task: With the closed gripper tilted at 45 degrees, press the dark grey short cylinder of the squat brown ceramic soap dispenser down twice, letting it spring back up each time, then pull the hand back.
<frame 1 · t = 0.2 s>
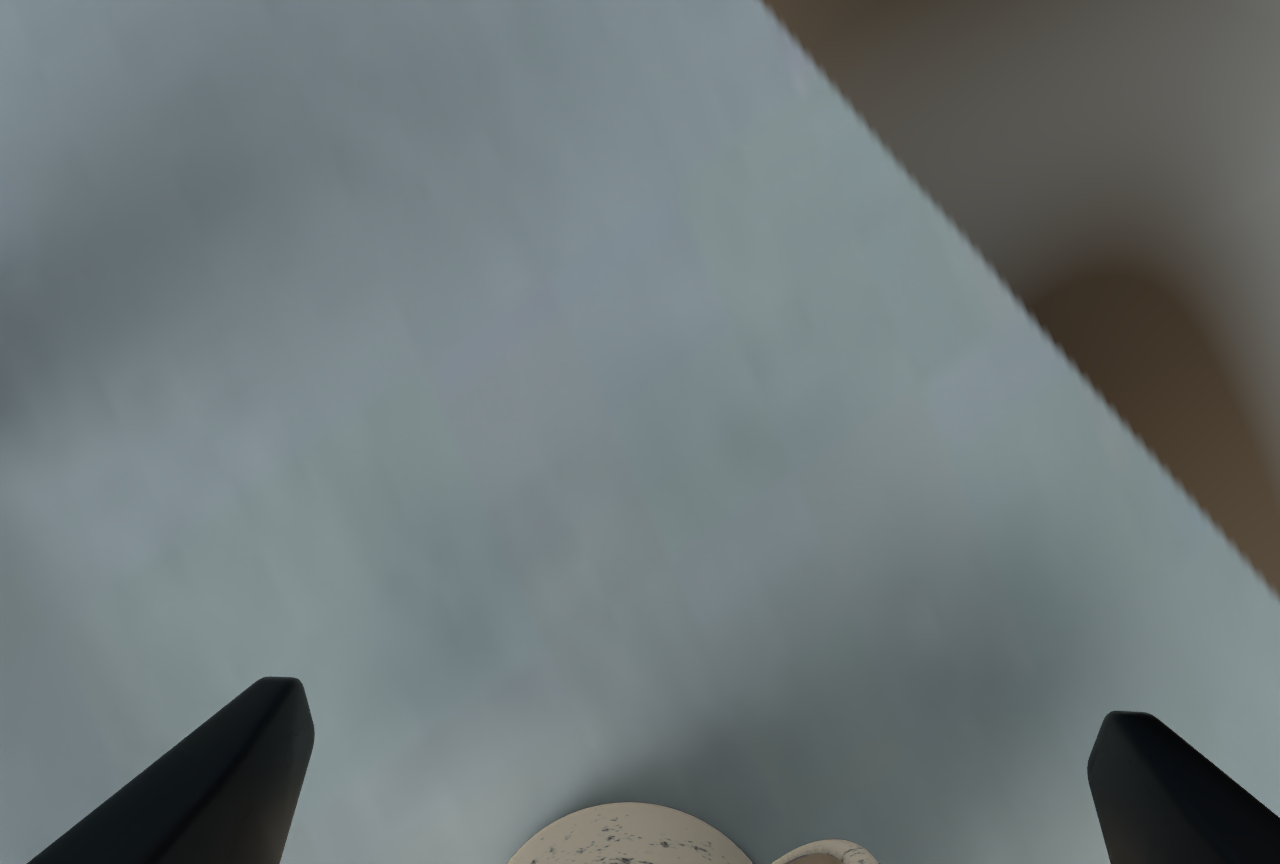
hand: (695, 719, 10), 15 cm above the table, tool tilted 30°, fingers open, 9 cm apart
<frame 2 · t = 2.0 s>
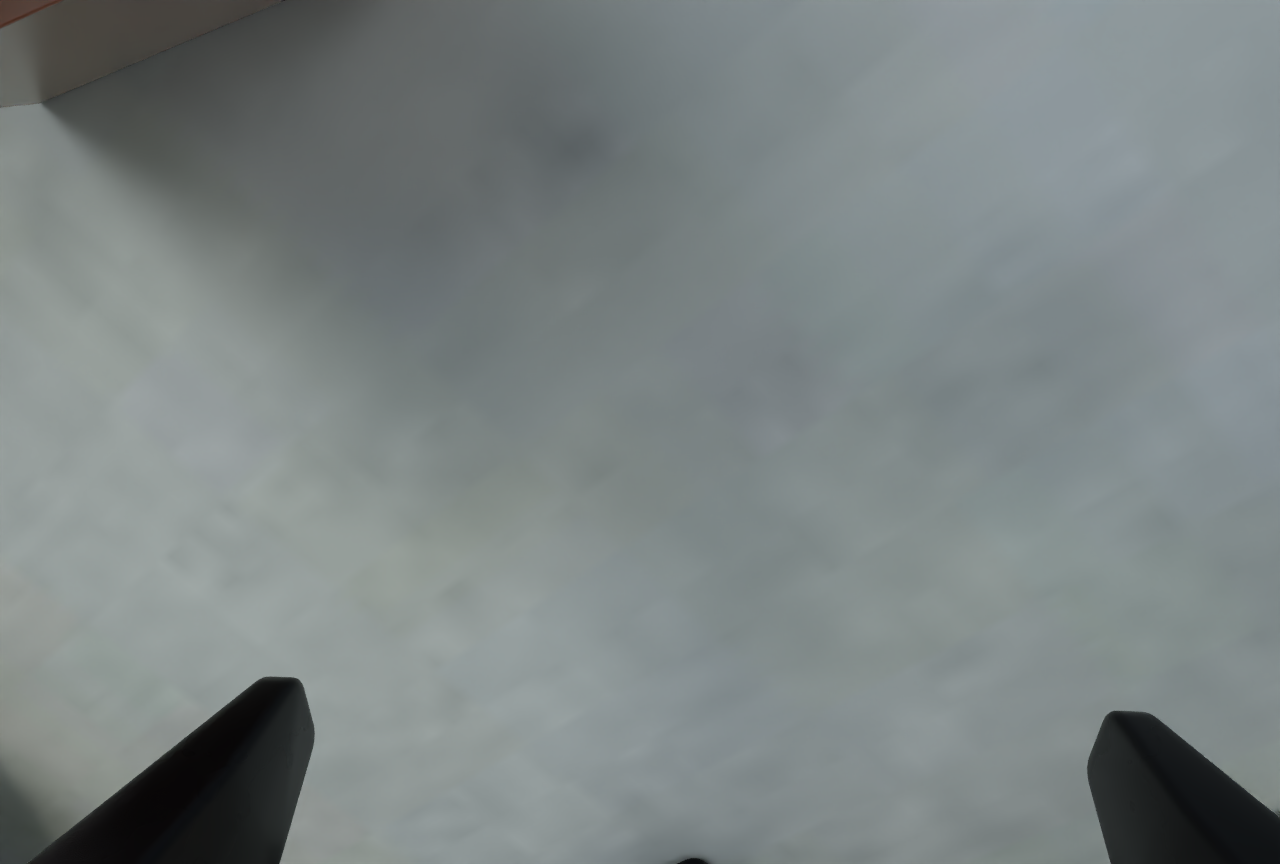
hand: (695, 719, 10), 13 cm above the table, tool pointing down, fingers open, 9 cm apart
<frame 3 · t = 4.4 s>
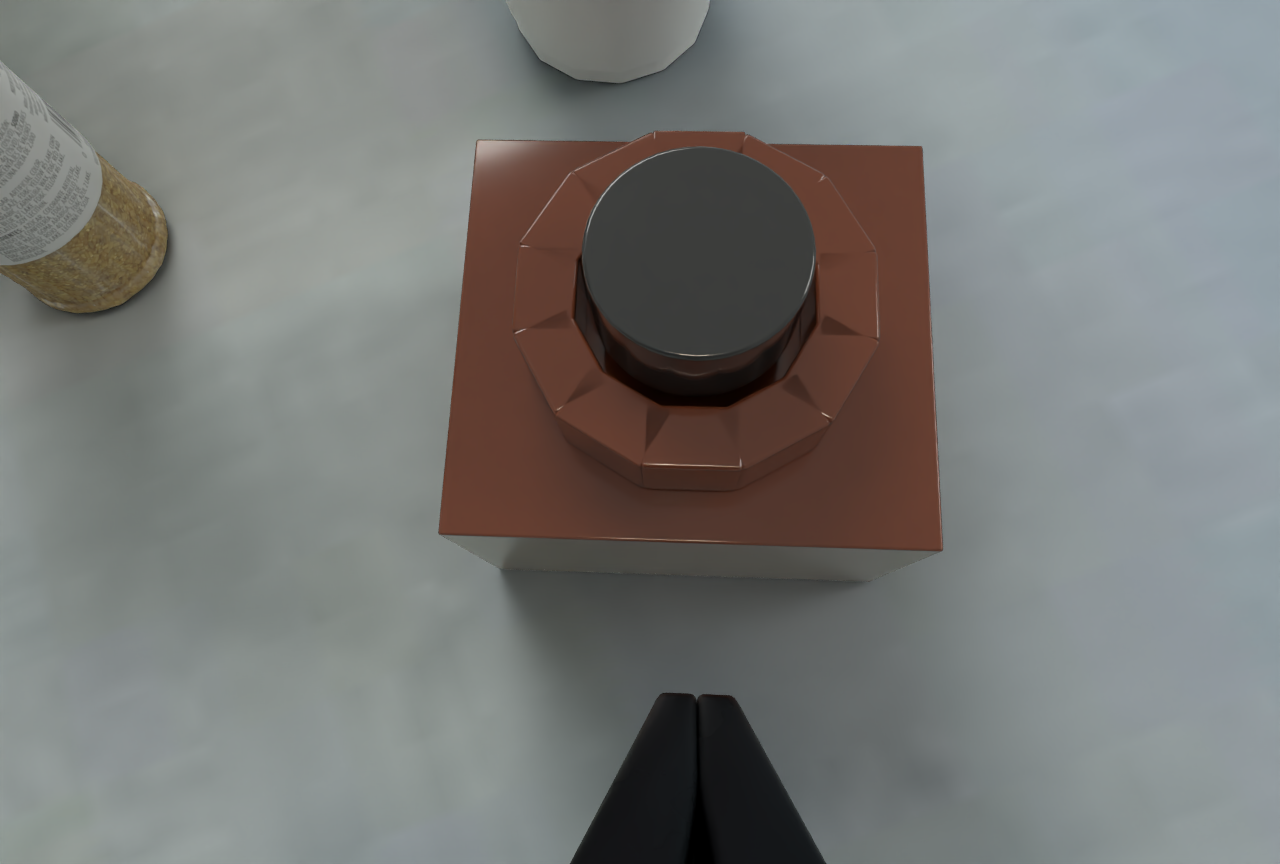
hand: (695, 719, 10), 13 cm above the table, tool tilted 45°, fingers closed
foam cup: (612, 4, 29), on the table
dark grey short cylinder: (696, 275, 16), point 9 cm above the table, slide at 0.1 cm
sprinkles bottle: (106, 253, 27), on the table
dispenser: (686, 415, 25), on the table
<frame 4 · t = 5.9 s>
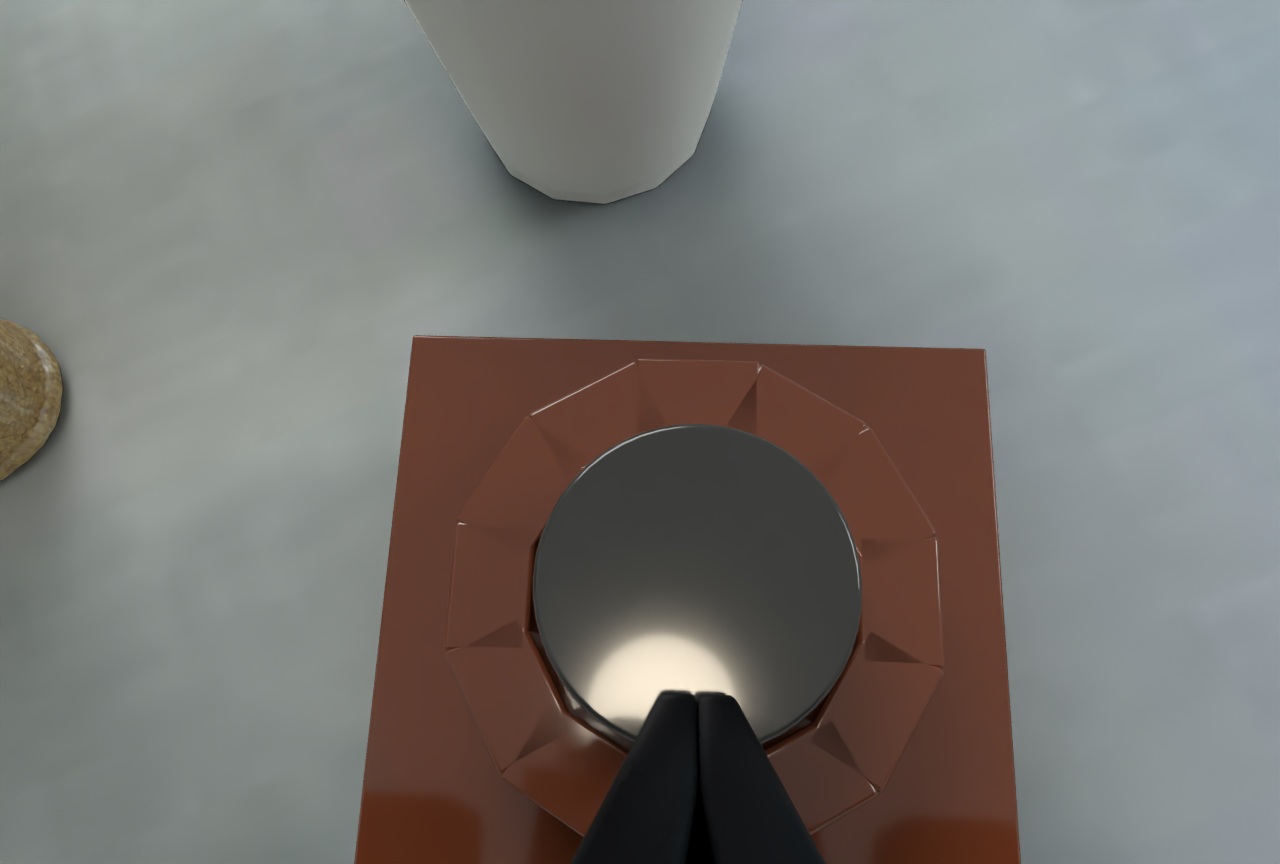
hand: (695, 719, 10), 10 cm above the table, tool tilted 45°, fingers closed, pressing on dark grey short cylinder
foam cup: (595, 105, 24), on the table
dark grey short cylinder: (694, 589, 12), point 9 cm above the table, slide at 0.0 cm, touching gripper
dispenser: (683, 623, 20), on the table
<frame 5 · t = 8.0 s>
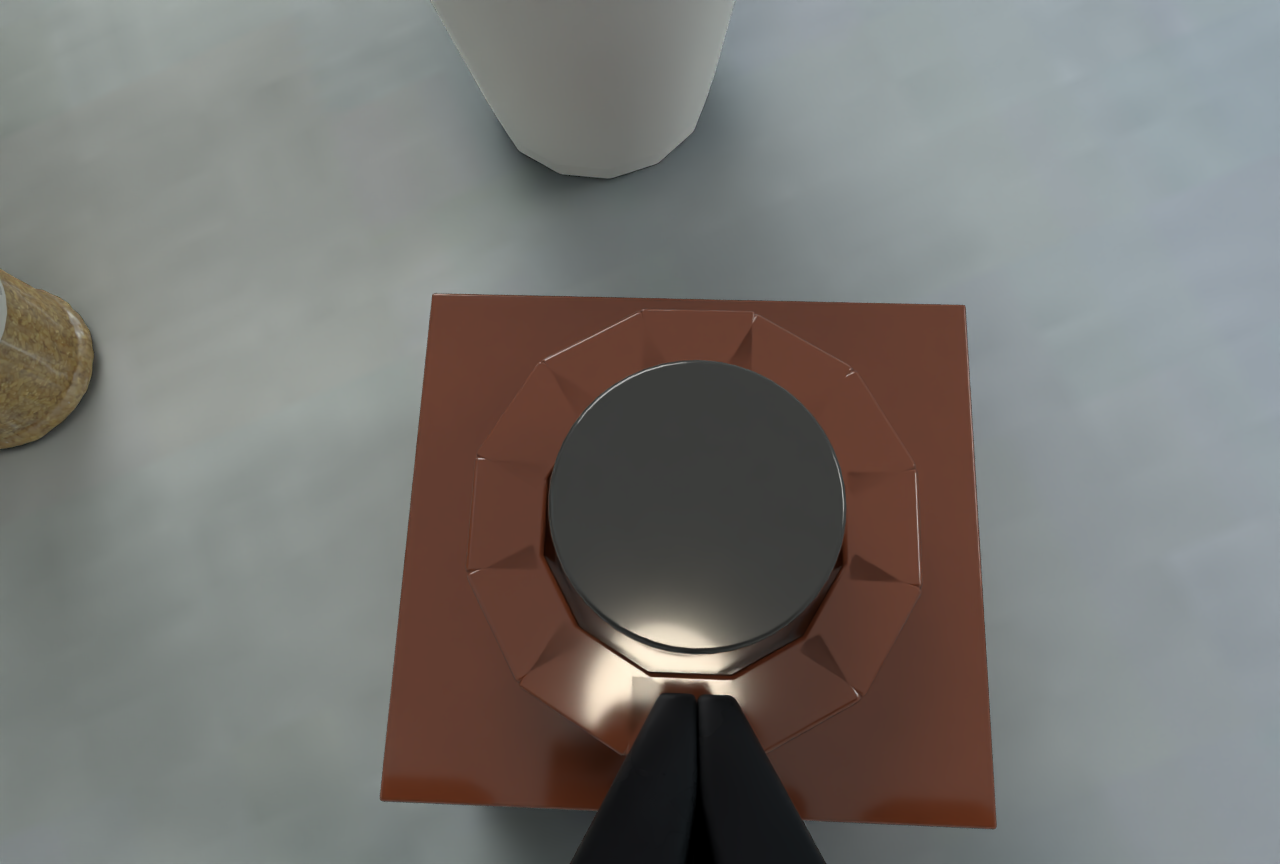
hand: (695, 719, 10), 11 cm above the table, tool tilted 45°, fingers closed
foam cup: (600, 85, 25), on the table
dark grey short cylinder: (694, 512, 13), point 9 cm above the table, slide at 0.1 cm
sprinkles bottle: (25, 375, 24), on the table
dispenser: (684, 573, 22), on the table
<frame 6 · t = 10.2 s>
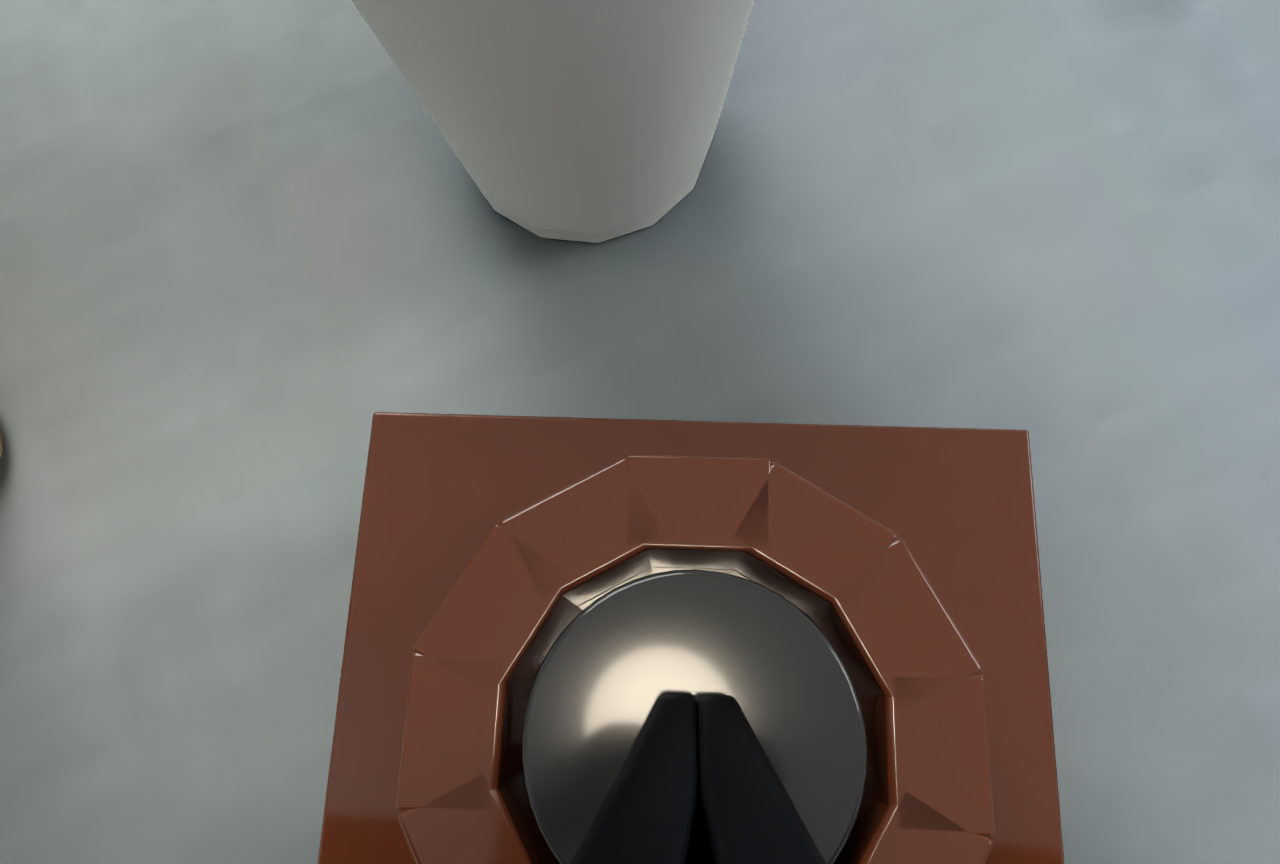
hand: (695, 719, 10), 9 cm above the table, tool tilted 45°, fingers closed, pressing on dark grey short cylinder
foam cup: (587, 135, 22), on the table
dark grey short cylinder: (691, 736, 11), point 8 cm above the table, slide at -1.5 cm, touching gripper
dispenser: (682, 711, 18), on the table
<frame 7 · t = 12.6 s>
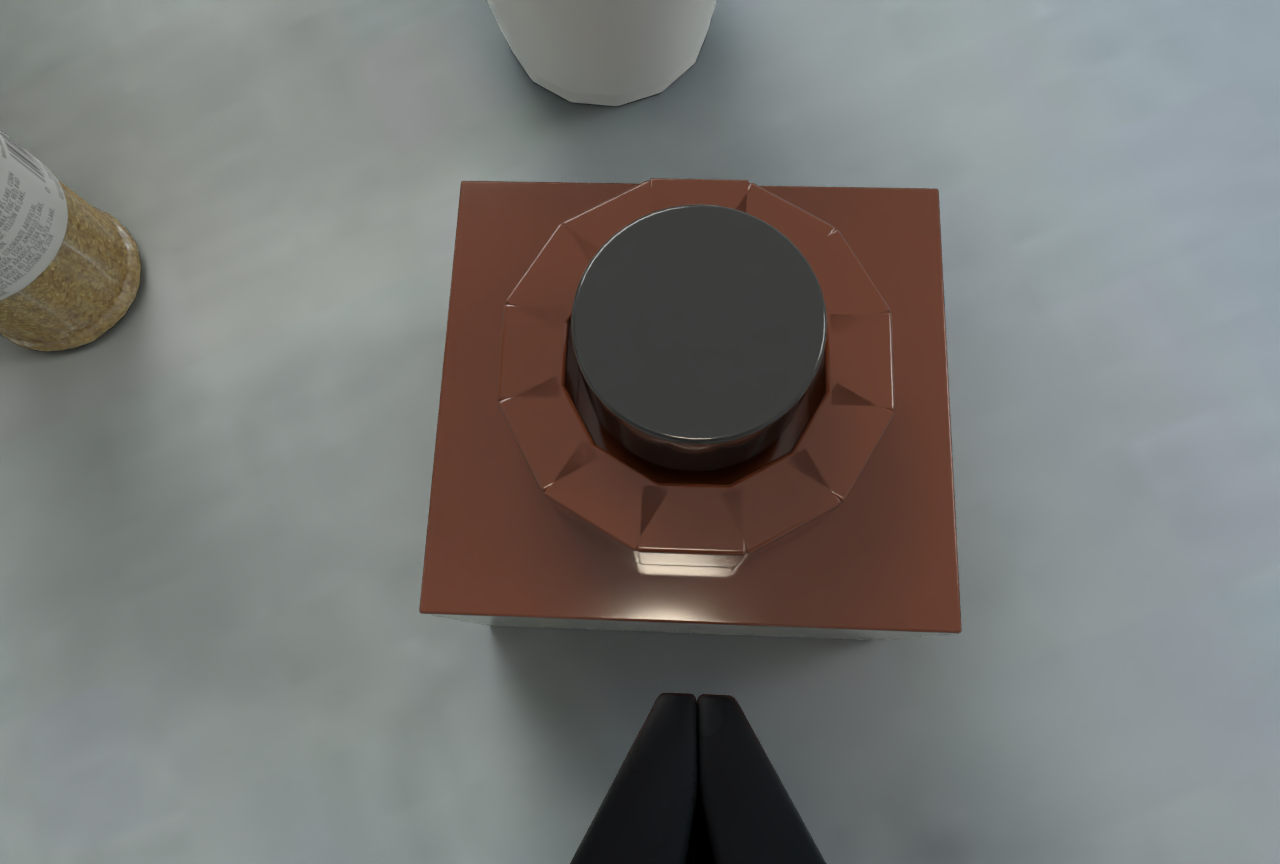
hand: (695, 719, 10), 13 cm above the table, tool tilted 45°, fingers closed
foam cup: (608, 21, 27), on the table
dark grey short cylinder: (696, 342, 15), point 9 cm above the table, slide at 0.1 cm
sprinkles bottle: (76, 286, 26), on the table
dispenser: (686, 460, 24), on the table
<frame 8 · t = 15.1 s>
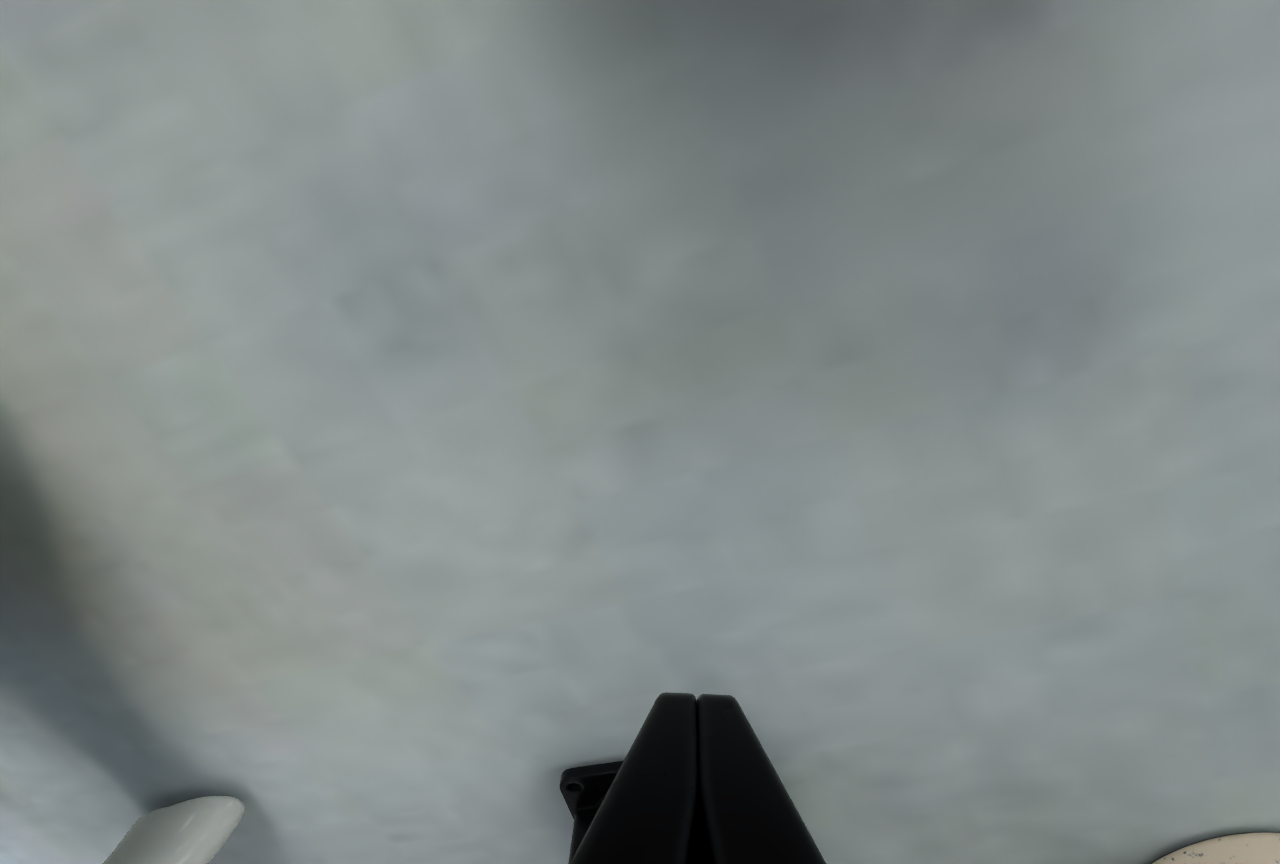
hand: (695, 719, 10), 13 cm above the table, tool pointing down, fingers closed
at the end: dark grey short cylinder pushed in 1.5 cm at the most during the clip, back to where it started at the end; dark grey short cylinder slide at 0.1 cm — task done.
